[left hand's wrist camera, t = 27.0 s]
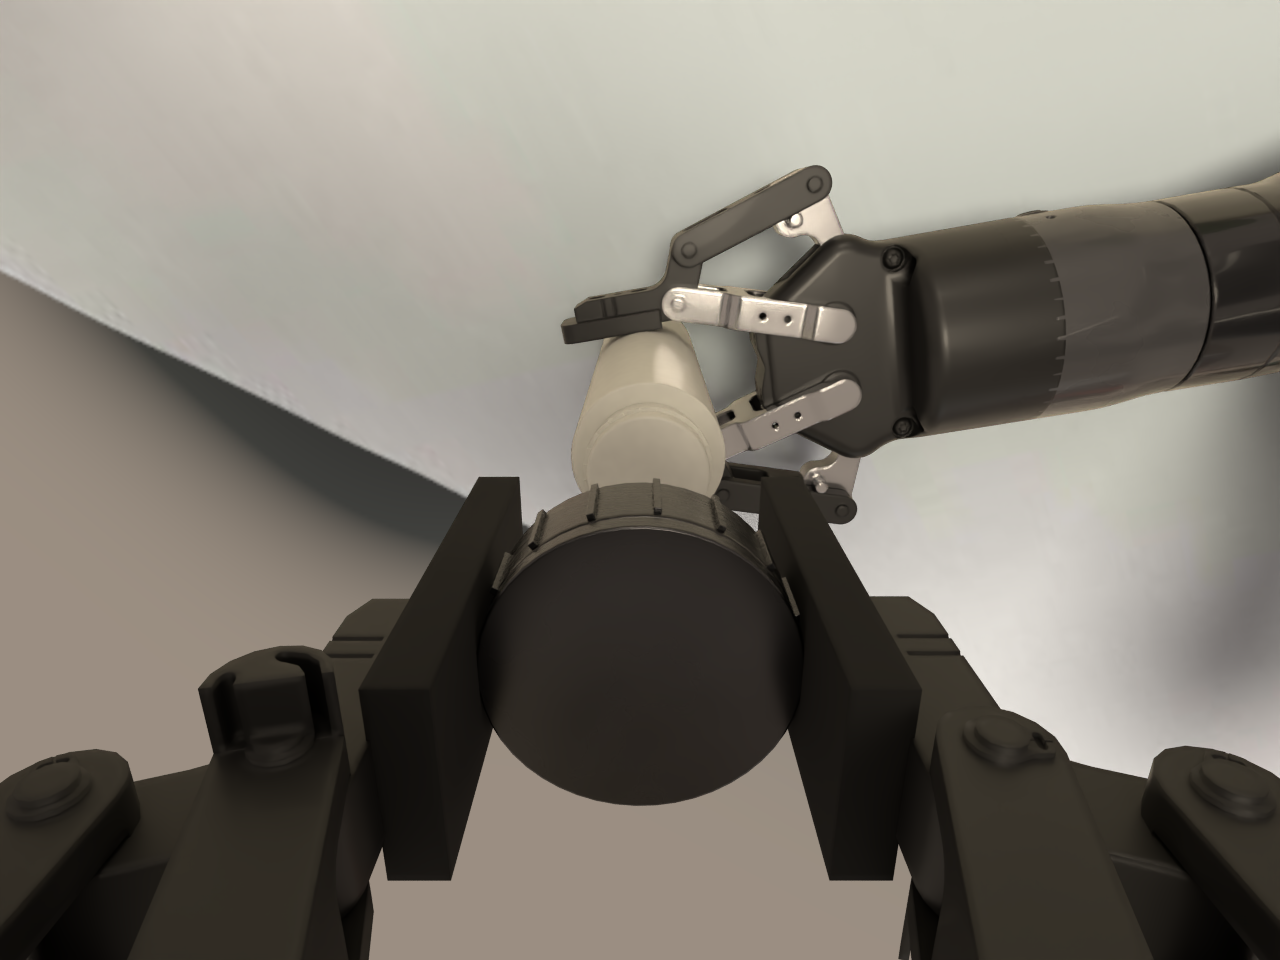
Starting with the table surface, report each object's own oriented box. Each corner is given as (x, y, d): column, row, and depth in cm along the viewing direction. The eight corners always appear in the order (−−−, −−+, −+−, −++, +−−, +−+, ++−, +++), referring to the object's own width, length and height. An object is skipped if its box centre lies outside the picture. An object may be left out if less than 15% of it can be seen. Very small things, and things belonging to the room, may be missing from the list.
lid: (585, 773, 13) (577, 851, 12) (436, 560, 12) (405, 617, 10) (833, 666, 12) (861, 734, 11) (706, 424, 11) (718, 462, 9)
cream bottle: (585, 336, 35) (533, 448, 19) (663, 289, 34) (679, 363, 18) (631, 412, 36) (620, 578, 20) (708, 368, 36) (760, 503, 19)
